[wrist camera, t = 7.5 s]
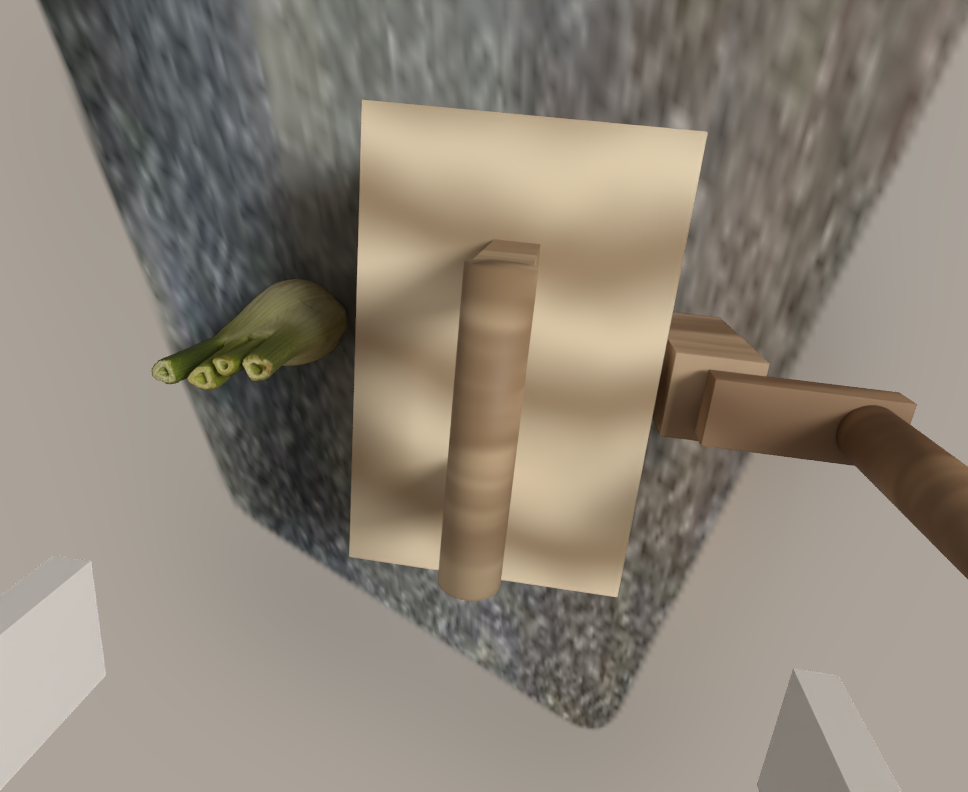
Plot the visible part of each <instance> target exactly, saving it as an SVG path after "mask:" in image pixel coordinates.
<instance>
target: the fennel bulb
mask: <svg viewBox="0 0 968 792" xmlns="http://www.w3.org/2000/svg"><path fill="white" fill-rule="evenodd" d="M347 323H348V321H347V317H346V310H345V308H344V307H343V306H342V305H341V304H340V303H339V302H338V301H337V300H335V298H333V296H332V295H331V294H330V293H329V292H328V291H327V290H326V289H325V288H323V287H322V286H320V285H319V284H317V283H315V282H313V281H308V280H303V279H291V280H285V281H281V282H278V283H275V284H274V285H272V286H270V287H268V288H267V289H266V290H264V291H263V292H262V293H260V294H259V295H258V296H257V297H256V298H254V299H253V300H252V301H251V302H250V303H249V304H248V305H247V306H246V307H245V308H244V309H243V311H242V312H240V314H239V315H238V316H236V317H235V318H234V319H233V320H232V321H231V322H229V323H228V324H227V325H226V326H225V327H224V328H223V329H222V330H221V331H220V332H219V333H218V334H217V335H215V336H214V337H212V338H210V339H208V340H206V341H203V342H201V343H199V344H196V345H194V346H192V347H190V348H188V349H185V350H183V351H180V352H178V353H175V354H173V355H170V356H168V357H165V358H163V359H161V360H159V361H158V362H157V363H156V364H155V365H154V366H153V368H152V376H153V377H154V378H155V379H157V380H160V381H162V382H165V383H166V384H174V383H178V382H179V381H181V380H184V379H186V378H188V381H189V382H190V383H191V384H193V385H195V386H196V387H199V388H201V389H206V390H209V391H210V390H214V389H217V388H218V387H220V386H221V385H222V384H224V383H225V382H226V381H227V380H228V379H230V378H231V377H232V376H233V375H234V374H236V373H237V372H239V371H241V370H243V369H245V370H246V372H247V374H248V376H249V377H250V379H251V380H252V381H261V380H262V381H263V380H265V379H268V378H269V377H270V376H271V375H272V374H273V373H274V372H276V371H277V370H278V369H279V368H280V367H282V366H292V365H300V364H306V363H310V362H313V361H316V360H318V359H320V358H322V357H324V356H325V355H327V354H329V353H331V352H332V351H333V350H334V349H335V348H336V347H337V346H338V344H339V341H340V337H341V336H342V335H343V334H344V333H345V331H346V328H347Z"/></svg>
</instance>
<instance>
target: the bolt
mask: <svg viewBox="0 0 968 792" xmlns="http://www.w3.org/2000/svg"><path fill="white" fill-rule="evenodd" d="M916 406H917V404H916V403H914V402H913V401H911V400H910V399H908V398H907V397H905V396H904V395H902V394H901V393H898V392H890V391H882V390H874V389H866V388H858V387H849V386H841V385H832V384H824V383H816V382H808V381H800V380H792V379H784V378H775V377H767V376H759V375H751V374H743V373H734V372H726V371H718V370H710V369H709V370H708V375H707V379H706V384H705V388H704V393H703V397H702V402H701V406H700V411H699V415H698V420H697V425H696V429H695V434H696V436H697V438H698V440H699V442H700V444H701V446H708V447H716V448H723V449H731V450H739V451H746V452H754V453H762V454H769V455H777V456H784V457H792V458H800V459H807V460H815V461H823V462H830V463H838V464H846V465H854V466H856V467H857V468H858V469H859V470H860V471H861V472H862V473H863V474H864V475H865V476H866V477H867V478H868V479H869V480H870V481H871V482H872V483H873V484H874V485H875V486H876V487H877V488H878V489H879V490H880V491H881V492H882V493H883V494H884V495H885V496H886V497H887V498H888V499H889V500H890V501H891V502H892V503H893V504H894V505H895V506H896V507H897V508H898V509H899V510H900V511H901V512H902V513H903V514H904V515H905V516H906V517H907V518H908V519H909V520H910V522H912V523H913V525H914V526H915V527H917V528H918V530H920V532H921V533H922V534H924V536H926V538H928V539H929V541H930V542H931V543H932V544H933V545H934V546H935V547H936V548H937V549H938V550H939V551H940V552H941V553H942V554H943V555H944V556H945V557H946V558H947V559H948V560H949V561H950V562H951V563H952V564H953V565H954V566H955V567H956V568H957V569H958V570H959V571H960V572H961V573H962V574H963V575H964V576H965V577H966V578H967V579H968V467H967V466H966V465H965V464H963V463H962V462H961V461H959V460H958V459H956V458H955V457H954V456H952V455H951V454H949V453H948V452H947V451H945V450H944V449H943V448H941V447H940V446H938V445H937V444H936V443H935V442H933V441H932V440H930V439H929V438H928V437H926V436H925V435H924V434H922V433H921V432H919V431H918V430H917V429H915V428H914V427H913V426H911V425H910V424H911V420H912V418H913V415H914V412H915V409H916Z"/></svg>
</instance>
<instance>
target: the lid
mask: <svg viewBox="0 0 968 792" xmlns="http://www.w3.org/2000/svg"><path fill="white" fill-rule="evenodd" d="M707 133H708V132H703V131H692V130H681V129H670V128H660V127H649V126H638V125H627V124H617V123H606V122H595V121H584V120H574V119H563V118H552V117H541V116H530V115H520V114H509V113H498V112H487V111H477V110H466V109H455V108H444V107H434V106H423V105H412V104H401V103H391V102H380V101H369V100H362V122H361V157H360V193H359V229H358V264H357V300H356V336H355V371H354V407H353V443H352V479H351V514H350V550H349V557H354V558H361V559H367V560H374V561H381V562H387V563H394V564H401V565H407V566H414V567H420V568H427V569H434V570H439V571H438V584H439V586H440V587H441V589H442V590H443V591H444V592H445V593H447V594H448V595H450V596H452V597H454V598H457V599H461V600H466V601H479V600H484V599H487V598H490V597H492V596H493V595H495V594H496V593H497V592H498V590H499V588H500V584H501V580H507V581H513V582H520V583H526V584H533V585H540V586H546V587H553V588H560V589H566V590H573V591H580V592H586V593H593V594H599V595H606V596H613V597H617V596H618V591H619V586H620V581H621V576H622V570H623V565H624V560H625V555H626V550H627V545H628V540H629V534H630V529H631V524H632V519H633V514H634V509H635V503H636V498H637V493H638V488H639V483H640V478H641V473H642V467H643V462H644V457H645V452H646V447H647V442H648V437H649V431H650V426H651V421H652V416H653V411H654V406H655V401H656V395H657V390H658V385H659V380H660V375H661V370H662V365H663V359H664V354H665V349H666V344H667V339H668V334H669V329H670V323H671V318H672V313H673V308H674V303H675V298H676V293H677V287H678V282H679V277H680V272H681V267H682V262H683V257H684V251H685V246H686V241H687V236H688V231H689V226H690V221H691V215H692V210H693V205H694V200H695V195H696V190H697V185H698V179H699V174H700V169H701V164H702V159H703V154H704V148H705V143H706V138H707Z"/></svg>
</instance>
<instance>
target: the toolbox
mask: <svg viewBox="0 0 968 792" xmlns="http://www.w3.org/2000/svg"><path fill="white" fill-rule="evenodd" d="M768 368H769V363H768V362H767V361H766V360H765V359H764V358H763V357H762V356H761V355H760V354H759V353H758V352H756V351H755V350H754V349H753V348H752V347H751V346H750V345H749V344H748V343H747V342H746V341H745V340H744V339H742V338H741V337H740V336H739V335H738V334H737V333H736V332H735V331H734V330H733V329H732V328H731V327H730V326H729V325H727V324H726V323H725V322H724V321H723V320H722V319H721V318H716V317H708V316H699V315H690V314H682V313H672V318H671V323H670V329H669V334H668V339H667V344H666V349H665V354H664V359H663V365H662V370H661V375H660V380H659V385H658V390H657V395H656V401H655V406H654V411H653V418H654V421H655V424H656V427H657V429H658V432H659V435H660V436H664V437H672V438H679V439H687V440H695V441H699V440H698V438H697V436H696V434H695V429H696V425H697V420H698V415H699V411H700V406H701V402H702V397H703V393H704V388H705V384H706V379H707V375H708V370H709V369H710V370H718V371H726V372H734V373H743V374H751V375H759V376H767V372H768Z"/></svg>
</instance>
